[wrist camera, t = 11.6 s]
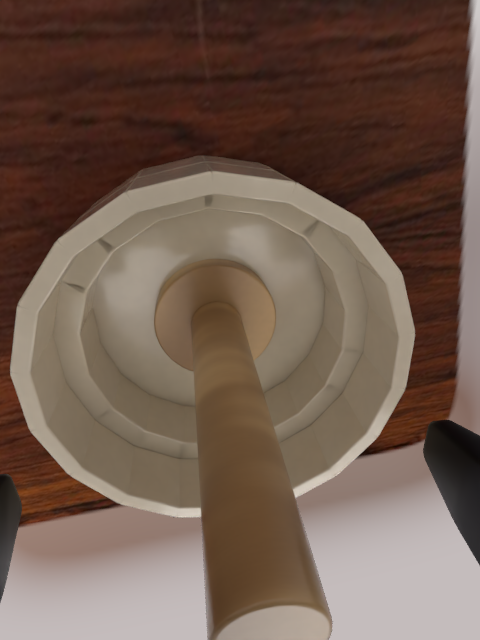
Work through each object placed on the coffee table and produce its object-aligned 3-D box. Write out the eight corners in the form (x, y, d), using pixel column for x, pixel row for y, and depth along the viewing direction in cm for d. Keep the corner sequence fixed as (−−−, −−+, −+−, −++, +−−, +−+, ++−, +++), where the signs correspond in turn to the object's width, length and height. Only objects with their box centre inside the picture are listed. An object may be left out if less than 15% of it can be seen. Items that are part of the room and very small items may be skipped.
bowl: (362, 145, 14) (447, 158, 10) (338, 407, 19) (387, 495, 14) (25, 162, 13) (-56, 185, 8) (94, 434, 18) (65, 540, 13)
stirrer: (272, 253, 15) (448, 513, 5) (272, 358, 17) (399, 689, 7) (147, 262, 14) (78, 567, 5) (162, 369, 16) (136, 740, 7)
